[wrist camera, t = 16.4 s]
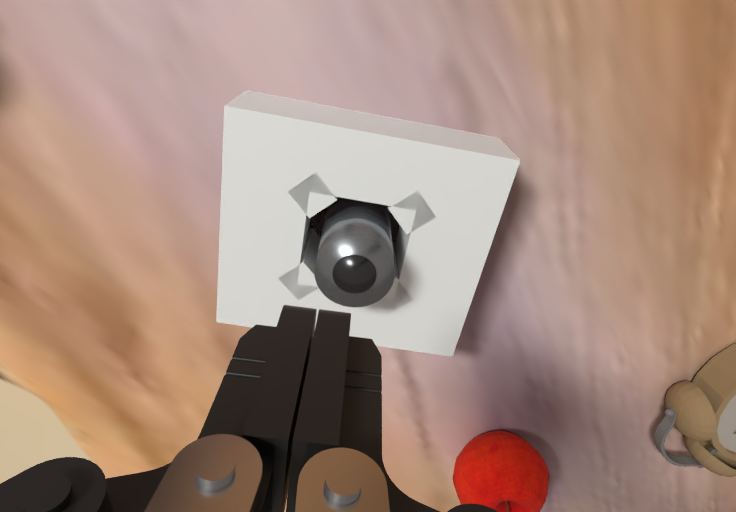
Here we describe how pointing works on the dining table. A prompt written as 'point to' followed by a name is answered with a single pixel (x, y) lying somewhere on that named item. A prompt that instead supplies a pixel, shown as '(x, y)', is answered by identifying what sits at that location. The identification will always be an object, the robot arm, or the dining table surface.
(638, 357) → the dining table surface
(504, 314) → the dining table surface
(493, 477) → the apple
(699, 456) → the alarm clock
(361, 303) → the dark grey cylinder
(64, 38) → the dining table surface
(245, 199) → the jig
